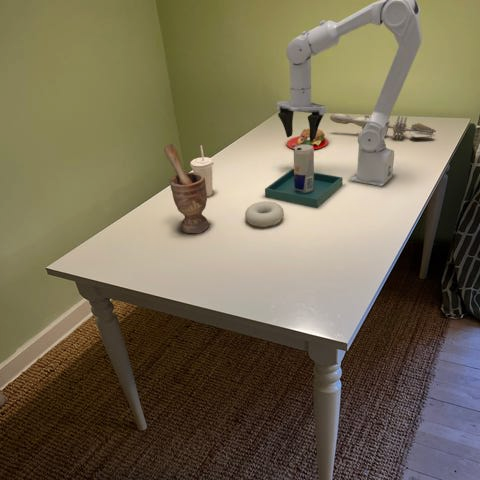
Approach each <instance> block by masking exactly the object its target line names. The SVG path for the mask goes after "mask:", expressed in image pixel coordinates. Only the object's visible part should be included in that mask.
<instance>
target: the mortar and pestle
mask: <svg viewBox="0 0 480 480" xmlns="http://www.w3.org/2000/svg"><path fill="white" fill-rule="evenodd" d="M163 149H164V154H165V156H166V157H167V160H168V161H169V163H170V164H171V167H172V168H173V169H174V172H175V173H176V175H174V176H173V177H171V178H170V180H169V186H170V191H171V193H172V198H173V202H174V204H175V206H176V209H177V211H178V212H179V213H180V214H182V216H184V218H183V219H182V220H181V222H180V230H181V231H182V232H183V233H186V234H202V233H203V232H204V231H206V230H207V229H208V228H209V227H210V222H209V220H208V218H207V217H206V216H204V215H203V212H204V210H206V207H207V202H208V196H207V192H206V184H205V177H204V175H203V174H201V173H195V172H193V171H190V172H186V171H185V169H184V167H183V164H182V161H181V159H180V155H179V153H178V150H177V148H176V147H175V145H174V144H173V143H169V144H168V145H166V146H164V148H163Z"/></svg>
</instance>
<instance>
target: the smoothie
mask: <svg viewBox="0 0 480 480" xmlns="http://www.w3.org/2000/svg"><path fill="white" fill-rule="evenodd" d="M199 147H200V154H201V157H197V158H194V159H192V160H191V161H190V168H191V169H192V172H195V173H201V174H203V175H204V177H205V184H206V192H207V197H210V196H212V195H213V193H214V191H213V189H214V188H213V187H214V186H213V166H214V160H213V159H212V158H211V157H207V156H206V157H205V156H204V155H205V154H204V149H203V145H199Z"/></svg>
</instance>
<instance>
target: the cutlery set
mask: <svg viewBox="0 0 480 480" xmlns="http://www.w3.org/2000/svg"><path fill="white" fill-rule="evenodd" d="M329 119H330V121H331V122H333V123H336V124H340V125H341V124H342V125H348V124H354V125H356V126H358V127H360V128H361V131H362V130H363V129H364V127H365V125H366V123H367V122H368V120H369V119H370V116H369V114H365V115H364V117H363V116H361V117H351V116H350V115H348V114H344V113H333V114H331V115H330V116H329ZM407 120H408V117H407V116H405V117H404V116H400V115H398V116H397V118H396V122H395V123H394V124H390V122H391V121H390V120H389V121H388V129H392V132H393V133H392V139H396V140H398V139H399V140H402V139H403V135H404V133H406V132H409V135H410V136H412V137H413V138H415V139H420V138H421V139H422V138H432V137H435V136H436V135H435V134H434V133H436V132H437V130H435V129H434V128H431V127H429V126H427V125H424V124H422V123H420V122H418V123H415V124H411V127H409V126H408V125H407Z"/></svg>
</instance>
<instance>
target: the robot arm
mask: <svg viewBox="0 0 480 480" xmlns="http://www.w3.org/2000/svg"><path fill="white" fill-rule="evenodd" d="M421 23H422V21H421V8H420V5H419V3H418V1H417V0H377V1H374V2H372V3H370V4H369V5H366V6H365V7H363V8H361V9H359V10H358V11H356V12H354V13H352V14H351V15H349V16H347V17H345V18H343V19H342V20H340V21H338V22H336V21H334V20H327V21H326V20H325V19H323V20H322V21H320V22H318V26H316V27H314V28H312V29H310V30H304V31H302V32H301V34H300V35H298V36H297V37H295V38H293V39H292V40H291V41H289V43H288V44H287V47H286V49H285V53H286V57H287V59H288V61H289V100H290V101H289V100H288V101H287V100H285V101H283V100H280V101H278V102H276V110H277V111H279V112H278V113H277V116H278V118H279V120H280V121H281V123H282V126H283V128H284V131H285V135H286V138H290V137H292V136H293V131H294V130H293V129H294V128H293V120H294V113H295V112H298V113H308V114H310V115H308V116H307V120H308V121H307V122H308V126H309V129H310V141H313V140H314V139H315V138H316V133H317V130H319V126H320V123H321V122H322V119H323V117H324V115H325V114H326V113H327V105H324V104H319V103H315V102H312V56H317V55H319V54H321V53H323V52H324V51H327V50H329V49H331V48H333V47H335V46H337V45H338V44H339V41H340V39H341V38H342V36H345V35H347V34H349V33H351V32H353V31H356V30H358V29H360V28H362V27H364V26H367V25H370V24H372V25H375V26H379V27H380V26H381V25H382V24H383V25H384V26H385V27H386V29H388V31H390V33H392V34H393V36H394V39H395V40H396V43H397V45H398V47H397V50H396V53H395V56H394V58H393V60H392V63H391V66H390V68H389V70H388V73H387V76H386V77H385V79H384V82H383V83H384V84H383V85H382V88H381V90H380V93H379V95H378V98H377V100H376V102H375V106H374V107H373V110H372V112H371V115H370V116H369V120H368V122H367V123H366V125H365V127H364V129H363V130H362V129H361V131H360V132H359V134H358V136H357V144H358V151H357V164H356V165H357V167H356V174H355V175H354V176H352V178H351V179H350V181H351V182H357V183H362V184H368V185H374V186H380V187H383V186H385V184H386V183H388V181H389V180H390V179H391V178H392V177H393V176H394V174H393V170H394V163H395V151H394V149H391V148H388V147H387V144H386V141H385V140H384V138H385V137H386V135H387V134H388V131H389V128H388V121H390V119H391V114H392V112H393V110H394V107H395V106H396V103H397V101H398V98H399V96H400V93H401V91H402V90H403V87H404V84H405V82H406V79H407V77H408V75H409V72H410V70H411V68H412V65H413V64H414V61H415V59H416V56H417V54H418V52H419V50H420V47H421V45H422V41H423V32H422V24H421Z"/></svg>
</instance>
